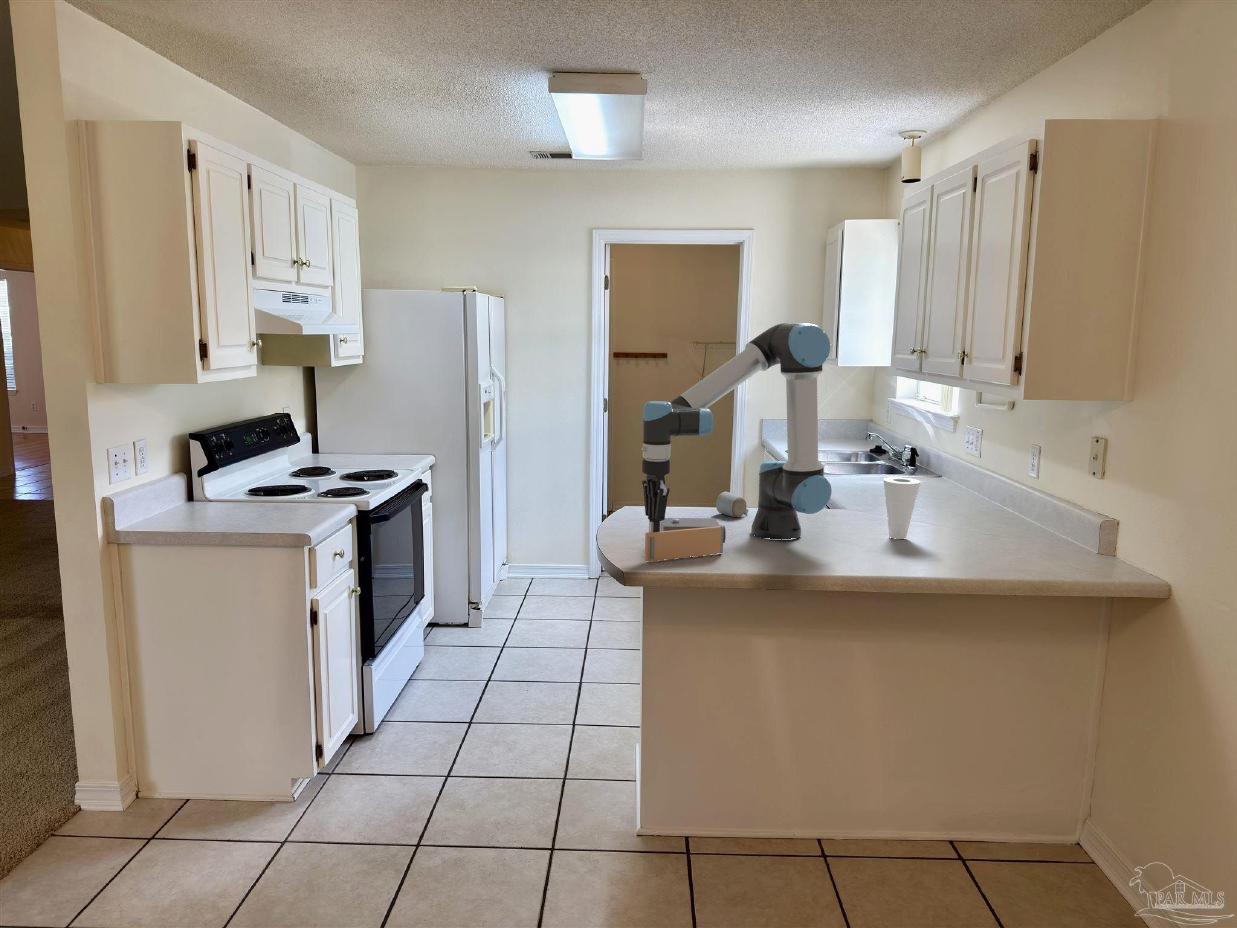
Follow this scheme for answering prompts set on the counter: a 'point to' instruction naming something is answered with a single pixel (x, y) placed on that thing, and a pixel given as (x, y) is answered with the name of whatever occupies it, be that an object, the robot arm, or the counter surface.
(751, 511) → the counter surface
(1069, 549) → the counter surface
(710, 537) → the door
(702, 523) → the camera housing
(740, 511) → the ceramic mug
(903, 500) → the cup
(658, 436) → the robot arm
